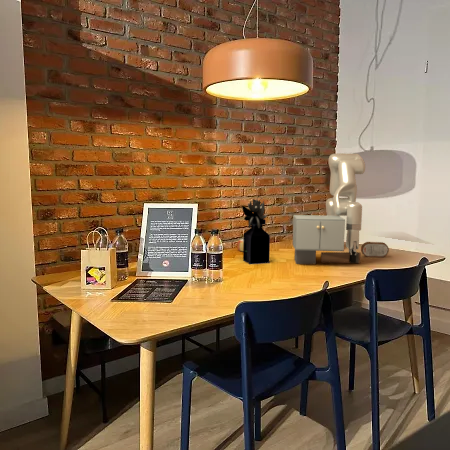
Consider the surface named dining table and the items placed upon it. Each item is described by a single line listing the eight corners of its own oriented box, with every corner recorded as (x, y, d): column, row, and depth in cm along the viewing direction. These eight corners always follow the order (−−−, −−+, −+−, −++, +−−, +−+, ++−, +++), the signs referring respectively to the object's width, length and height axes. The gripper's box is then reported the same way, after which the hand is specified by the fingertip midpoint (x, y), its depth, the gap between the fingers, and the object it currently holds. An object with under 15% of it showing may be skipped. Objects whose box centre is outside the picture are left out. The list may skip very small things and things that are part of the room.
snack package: (268, 256, 243) (268, 244, 242) (257, 258, 239) (258, 245, 238) (246, 250, 262) (246, 238, 261) (236, 251, 259) (236, 239, 258)
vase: (245, 265, 219) (246, 196, 215) (237, 260, 230) (238, 194, 226) (271, 263, 224) (273, 196, 219) (262, 259, 235) (264, 194, 230)
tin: (387, 256, 245) (388, 242, 244) (389, 257, 242) (389, 242, 241) (360, 255, 247) (361, 241, 246) (361, 257, 244) (362, 242, 243)
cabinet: (292, 258, 237) (293, 215, 234) (336, 259, 235) (338, 215, 232) (295, 266, 218) (296, 219, 215) (343, 267, 216) (345, 219, 213)
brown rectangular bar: (320, 261, 229) (321, 252, 228) (359, 262, 228) (359, 252, 227) (321, 262, 227) (321, 252, 226) (360, 262, 225) (360, 253, 225)
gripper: (343, 225, 233) (341, 258, 235) (349, 229, 217) (347, 265, 219) (357, 225, 232) (355, 258, 234) (364, 229, 216) (362, 265, 219)
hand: (352, 261), depth 227 cm, fingers closed on brown rectangular bar, 2 cm apart
